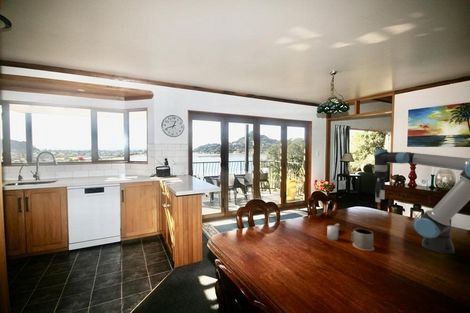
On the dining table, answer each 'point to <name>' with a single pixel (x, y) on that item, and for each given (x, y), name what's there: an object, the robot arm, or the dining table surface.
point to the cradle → (351, 233)
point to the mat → (363, 249)
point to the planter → (363, 238)
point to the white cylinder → (332, 233)
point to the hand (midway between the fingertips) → (380, 200)
